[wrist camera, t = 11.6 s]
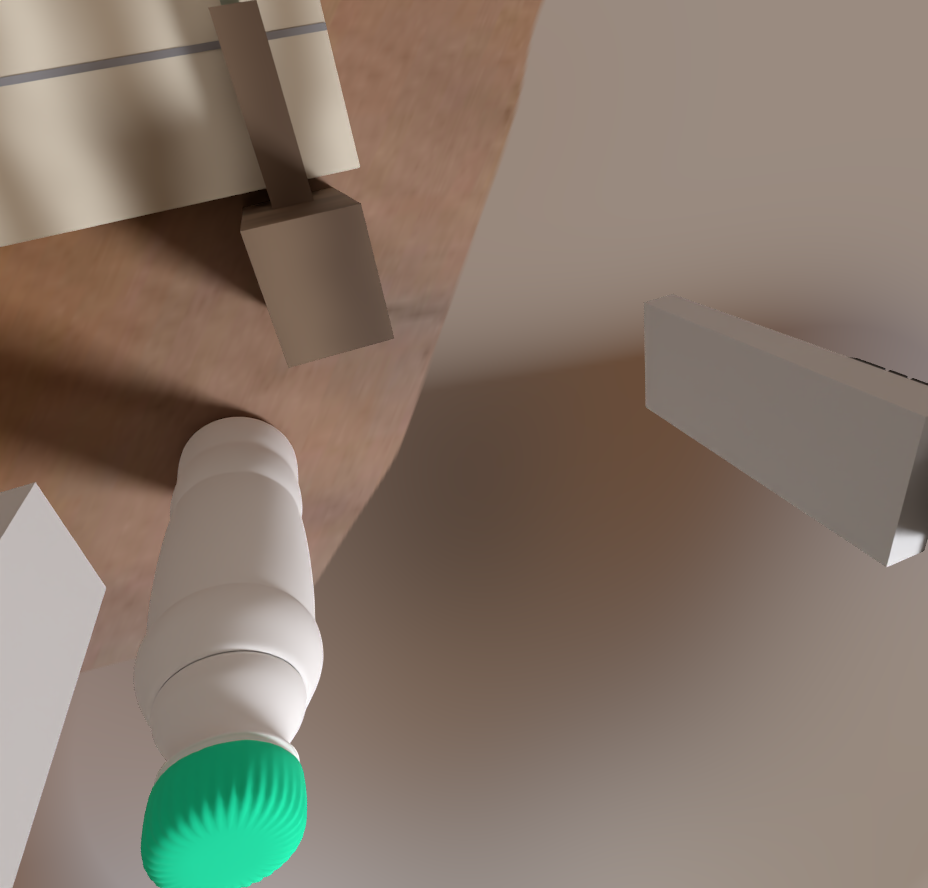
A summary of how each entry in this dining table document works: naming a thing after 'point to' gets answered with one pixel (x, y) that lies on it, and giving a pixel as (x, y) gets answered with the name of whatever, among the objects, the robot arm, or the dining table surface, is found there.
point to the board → (146, 109)
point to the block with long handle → (298, 217)
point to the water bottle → (229, 662)
